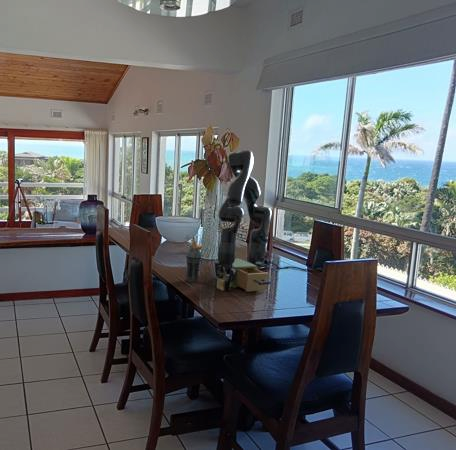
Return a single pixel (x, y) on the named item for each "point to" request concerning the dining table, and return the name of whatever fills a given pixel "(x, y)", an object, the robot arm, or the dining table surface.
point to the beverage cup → (193, 263)
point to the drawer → (251, 279)
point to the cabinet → (237, 265)
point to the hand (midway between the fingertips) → (223, 288)
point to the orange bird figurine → (193, 244)
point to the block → (221, 283)
